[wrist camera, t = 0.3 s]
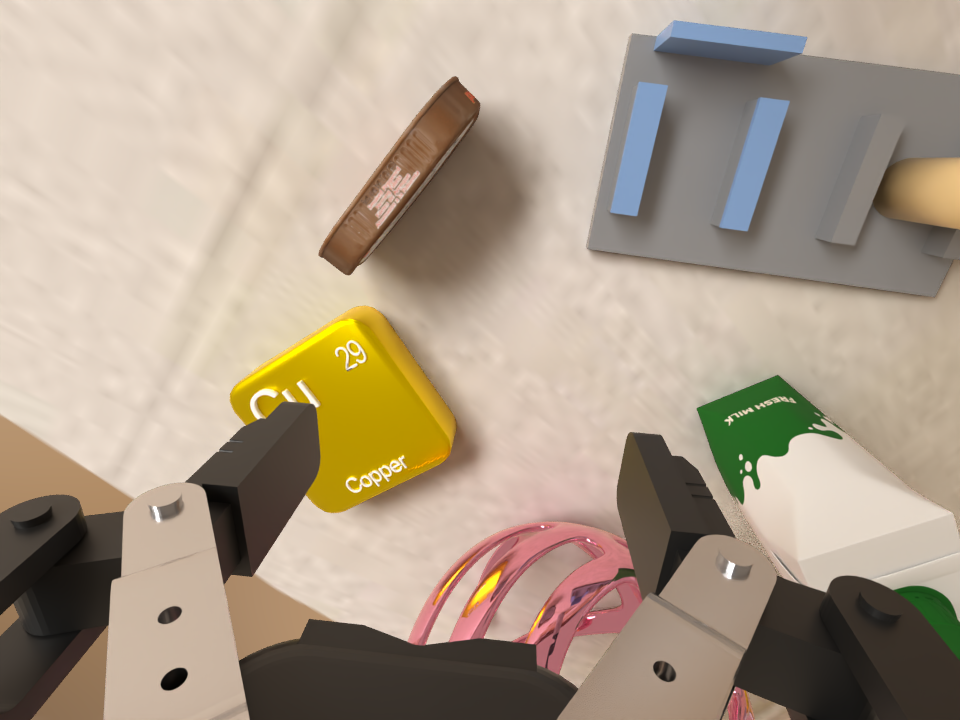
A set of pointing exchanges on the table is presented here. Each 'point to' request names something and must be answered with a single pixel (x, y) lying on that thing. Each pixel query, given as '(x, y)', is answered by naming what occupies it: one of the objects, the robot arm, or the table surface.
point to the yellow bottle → (921, 191)
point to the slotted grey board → (771, 159)
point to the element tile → (355, 407)
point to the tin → (401, 176)
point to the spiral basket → (566, 603)
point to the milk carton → (832, 503)
